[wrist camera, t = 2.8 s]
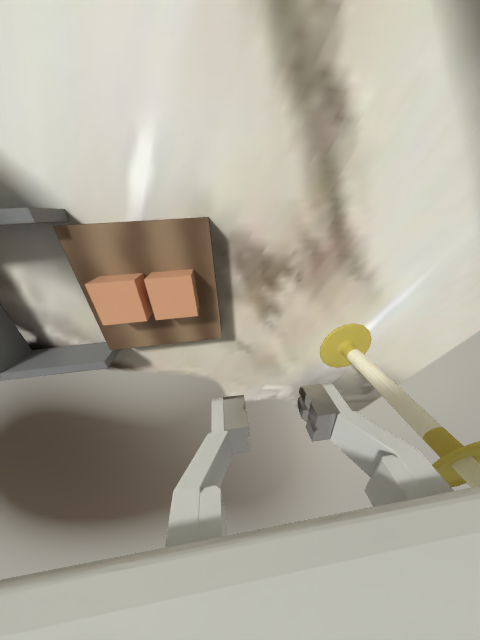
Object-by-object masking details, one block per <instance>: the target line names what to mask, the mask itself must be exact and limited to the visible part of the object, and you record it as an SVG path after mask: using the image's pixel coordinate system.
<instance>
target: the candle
mask: <svg viewBox="0 0 480 640" xmlns="http://www.w3.org/2000/svg"><path fill="white" fill-rule="evenodd" d="M370 343H371V335H370V331H369V330H368V329H366V328H365V327H364V326H363V325H358V324H349V325H344V326H342V327H340V328H338V329H336V330H334V331H333V332H332V333H330V334H329V335H328V336H327V337H326V338H325V340H324V342H323V344H322V345H321V349H320V356H321V359H322V361H323V362H324V363H325V364H327V365H328V366H331V367H337V368H338V367H344V366H348V365H350V364H353V365H354V366H355V367H356V369H357V370H358V371H359V372H360V373H361V374H362V375H363V376H364V377H365V378H366V379H367V380H368V381H369V382H370V383H371V384H372V385H373V387H374V388H375V389H376V390H377V391H378V392H379V393H380V394H381V395H382V396H383V397H384V398H385V399H386V400H387V401H388V402H389V404H390V405H391V406H392V407H393V408H394V409H395V410H396V411H397V412H398V413H399V414H400V415H401V416H402V417H403V418H404V419H405V421H406V422H407V423H408V424H409V425H410V426H411V427H412V428H413V429H414V430H415V431H416V432H417V433H418V434H419V435H420V436H421V437H422V438H423V440H424V441H425V442H426V443H427V444H428V445H429V446H430V447H431V448H432V449H433V450H434V451H435V452H436V453H437V455H438V456H439V457H440V459H439V460H438V461H436V462H435V463H434V464H433V465H432V466H433V467H434V468H435V470H436V471H437V472H438V473H439V474H440V475H441V476H442V478H443V479H444V480H445V481H446V482H447V483H448V484H449V486H450V487H455V486H459V485H461V484H464V483H468V484H469V485H470V487H471V488H472V487H477V486H480V441H479V442H475V443H472V444H469V445H467V446H463V445H462V444H461V443H460V442H459V441H457V440H456V439H455V438H454V437H453V436H452V435H451V434H450V433H449V432H448V431H447V430H445V429H444V428H443V427H442V426H441V425H440V424H439V423H438V422H437V421H436V420H435V419H433V418H432V417H431V416H430V415H429V414H428V413H427V412H426V411H425V410H424V409H422V408H421V407H420V406H419V405H418V404H417V403H416V402H415V401H414V400H413V399H412V398H411V397H410V396H408V395H407V394H406V393H405V392H404V391H403V390H402V389H401V388H399V386H398V385H396V384H395V383H394V382H393V381H392V380H391V379H390V378H389V377H388V376H387V375H386V374H384V373H383V372H382V371H381V370H380V369H379V368H378V367H377V366H376V365H375V364H374V363H372V362H371V361H370V360H369V359H368V358H367V357H366V356H365V355H364V354H365V353H366V352H367V350H368V349H369V347H370Z"/></svg>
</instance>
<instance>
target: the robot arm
mask: <svg viewBox="0 0 480 640" xmlns="http://www.w3.org/2000/svg"><path fill="white" fill-rule="evenodd" d="M299 393H300V395H301V396H300V397H299V398H298V409H299V412H300V415H301V417H302V419H303V420H305V421H306V422H307V424H306V428H307V431H308V433H309V435H310V438H311V439H312V441H320V440H327V439H330V440H331V442H333V443H334V444H335V445H336V446H337V447H338V448H339V449H340V450H341V451H342V452H343V453H345V454H346V455H347V456H348V457H349V458H350V459H351V460H353V462H354V463H356V464H357V465H358V466H359V467H360V468H361V469H362V470H363V471H364V472H365V473H366V474H368V475H369V476H370V477H371V478H370V480H369V482H368V484H367V486H366V488H365V492H366V494H367V496H368V498H369V500H370V501H371V503H372V505H373V507H370V508H365V509H359V510H354V511H349V512H344V513H339V514H334V515H329V516H325V517H319V518H313V519H308V520H304V521H298V522H294V523H288V524H283V525H278V526H273V527H268V528H262V529H257V530H252V531H247V532H242V533H237V534H232V535H227V525H226V514H225V509H224V504H223V500H222V495H221V491H220V485H221V483H222V480H223V478H224V475H225V473H226V470H227V467H228V465H229V462H230V460H231V457H232V455H234V454H239V453H245V452H250V440H249V437H250V432H249V422H248V416H247V411H246V408H245V399H244V395H239V396H230V397H221V398H213V399H212V433H208V435H207V436H206V438H205V440H204V442H203V443H202V445H201V446H200V448H199V450H198V451H197V453H196V455H195V456H194V458H193V460H192V461H191V463H190V465H189V466H188V468H187V470H186V471H185V473H184V475H183V476H182V478H181V480H180V481H179V483H178V485H177V486H176V488H175V490H174V491H173V498H172V505H171V511H170V518H169V525H168V531H167V538H166V545H165V548H161V549H155V550H150V551H145V552H140V553H135V554H130V555H125V556H120V557H115V558H109V559H104V560H99V561H94V562H89V563H84V564H79V565H74V566H69V567H64V568H58V569H53V570H48V571H43V572H38V573H33V574H28V575H23V576H18V577H12V578H8V579H2V580H0V640H480V486H477V487H472V488H467V489H461V490H456V491H454V490H453V489H452V488H451V487H450V486H449V484H448V483H447V482H446V481H445V480H444V479H443V478H442V476H441V475H440V474H439V473H438V472H437V471H436V470H435V468H434V467H433V466H432V465H431V464H430V463H429V462H428V461H427V459H426V458H425V457H424V456H423V455H422V454H421V452H420V451H419V450H418V449H416V448H415V447H413V446H411V445H410V444H408V443H406V442H405V441H403V440H402V439H400V438H398V437H397V436H395V435H393V434H392V433H390V432H389V431H387V430H385V429H384V428H382V427H380V426H379V425H377V424H376V423H374V422H372V421H371V420H369V419H368V418H366V417H364V416H362V415H361V414H359V413H358V412H356V411H352V410H351V409H350V407H349V406H348V405H347V403H346V402H345V400H344V399H343V398H342V396H341V395H340V394H339V392H338V391H337V389H336V388H335V387H334V385H333V384H332V383H325V384H317V385H310V386H303V387H300V389H299Z"/></svg>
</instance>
